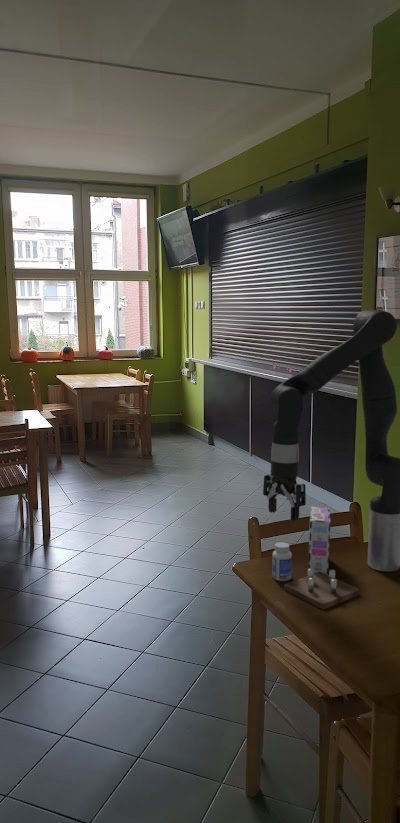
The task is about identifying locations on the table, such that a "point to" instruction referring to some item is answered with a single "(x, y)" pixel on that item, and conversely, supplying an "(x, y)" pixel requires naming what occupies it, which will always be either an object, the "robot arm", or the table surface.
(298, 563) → the table surface
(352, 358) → the robot arm
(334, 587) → the steel pegs
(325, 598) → the peg board
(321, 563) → the candy box
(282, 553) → the pill bottle
